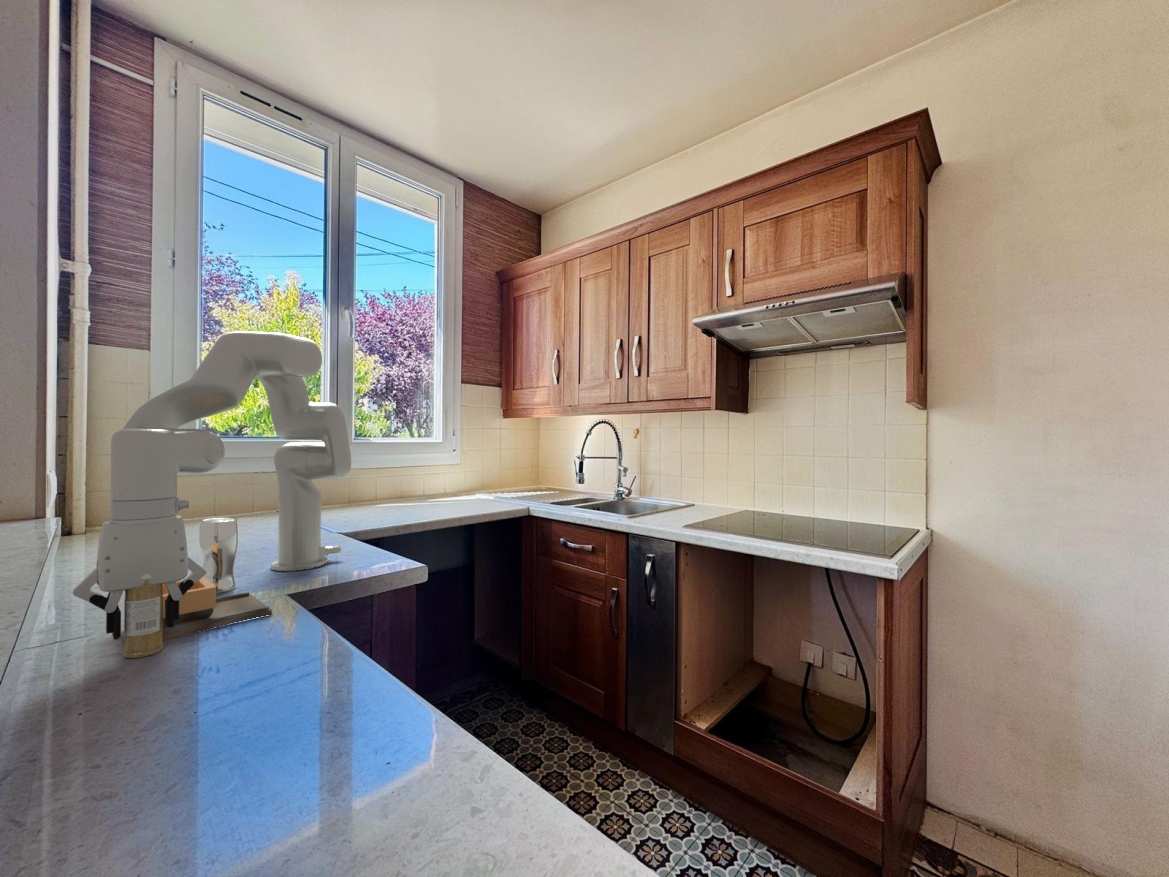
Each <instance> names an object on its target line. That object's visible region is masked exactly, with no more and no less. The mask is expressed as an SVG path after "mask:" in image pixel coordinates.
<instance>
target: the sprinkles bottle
mask: <svg viewBox="0 0 1169 877" xmlns="http://www.w3.org/2000/svg"><path fill="white" fill-rule="evenodd" d="M148 578H152V577H151V576H150V575H149V574H145V575H143V576H142V578H141V579H148ZM149 581H151V580H146V581H144V582H145V583H144V584H143V585H141V586H140V587H136V588H134V589H130V590H124V603H123V604H124V612H123V613H124V618H123V620H124V621H123V622H124V623H123V624H124V628H123V629H124V630H123V631H124V632H123V633H124V634H123V635H124V652H123V657H125V658H127V659H135V658H137V659H138V658H144V657H147V656H151V655H154V654H157V653H158V652H161V651H162V650H163V649H164V644H163V640H162V639H163V637H162V635H163V634H162V633H163V631H162V628H163V594H162V593H163V589H162V584H161V585H155V584H151V583H147V582H149Z"/></svg>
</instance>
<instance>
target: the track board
mask: <svg viewBox="0 0 1169 877" xmlns="http://www.w3.org/2000/svg"><path fill="white" fill-rule="evenodd" d="M266 615H272V616H273V610H272V609H271V608H270V607H269V606H268V605H266V604H265V603H263V602H262V601H261V600H260V599H258V598H257V597H255V596H254V595H253V594H252V593H250V592H249V591H245V592H244V591H243V592H239V593H234V594H233V593H232V594H228V595H224V596H216V607H215V608H213V613H212V615H211V616H210V617H209V618H207V619H199V618H197V616H196V615H195V612H190V613H185V614H180V615H179V619H176V620H174V627H171V628H169V627H167V625H166V624H165V618H163V628H162V631H163V633H162V634H163V635H162V637H163V639H162V641H166V640H169V639H174V638H179V637H182V636H183V637H184V636H187V635H191V634H197V633H200V632H199V631H201V632H204V631H203V630H206V631H208V630H207V629H210V630H212V629H211V628H214V627H219V626H223V625H227V624H230V623H234V622H239V621H243V620H247V619H252V618H256V617H261V616H266ZM223 627H224V626H223ZM219 628H220V627H219ZM214 629H215V628H214ZM196 632H197V633H196Z"/></svg>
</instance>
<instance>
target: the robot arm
mask: <svg viewBox="0 0 1169 877" xmlns="http://www.w3.org/2000/svg"><path fill="white" fill-rule="evenodd" d="M322 364H323V355H322V352H321V349H320V347H319V345H317V343H316V342H315V341H313V340H312V339H310V338H306V337H300V336H298V335H297V336H296V335H293V334H288V333H282V332H269V331H268V332H267V331H242V330H241V331H230V332H227V333H224V334H222V335H221V336H220V337H219V338H218V339H217V340H216V341H215V343H214V344H213V346H212V347H211V348H210V350H209V351H208V353H207V354H206V356H205V357H204V359H203V360H202V362H201V364H200V365H199V367H198V368H197V369H196V371H195V372H194V374H193V375H192V377H191V378H190V379H188V380H186V381H184V382H182V383H180V384H178V385H175V386H173V387H171V388H170V389H168V390H165V391H164V392H162V393H160V394H159V395H157V396H155V397H152V398H151V399H149V400H148V401H146V402H145V403H144V404H142V405H141V406H140V407H138V409H137V410H135V412H134V413H133V414H132V415H131V417H130V418H129V419H128V421H127V422H126V423H125V425H124V426H123V427H122V429H119V430H116V431H114V432H113V434H112V436H111V440H110V503H109V504H110V509H109V512H110V513H109V514H110V515H109V520H108V521H104V522H102V524H101V525H102V526H101V529H100V533H99V538H98V545H97V555H96V567H95V568H94V569H93V570H92V572H90V573H89V574H88V575H87V576H86V577H84V579H83V580H82V581H80V583H79V584H77V586H75V587H74V589H73V590H72V595H73V596H75V597H77V598H79V599H81V600H83V601H85V602H88V603H90V604H91V605H94V607H97V608H99V609H101V610H103V611H104V612H105V622H106V623H105V630H106V631H105V633H106V634H112V638H113V641H115V640H119V639H120V638H121V637H122V629H121V628H122V611H121V609H120V607H119V603H120V600H121V598H122V595H123V594H124V592H125V590H130V589H134V588H136V587H140V586H141V585H143V584H144V583H145V582H144V581H146V580H151V581H149V582H147V583H151V584H155V585H161V584H165V586H166V588H167V590H168V592H169V594H168V595H167V599H165V624H166V625H167V627H169V628H171V627H174V620H176V619H179V600H180V599H181V598H182V596H183V595H184V594H185V593H186V592H187V591H188V590H189V589H190V588H191V587H192V586H193V585H194V584H195V583H196V582H197V581H199V580H200V579H201V578H202V577H203V576H205V575H206V571H205V570H204V569H203V568H202V566H200V565H199V563H197V562H196V561H195V560H193V559H192V558H191V557H189V555H188V542H187V541H188V540H187V534H186V533H187V532H186V529H185V528H186V527H185V522H184V519H183V516H182V515H178V514H179V512H180V511H181V510H183V509H189V507H190V501H189V499H185V500H183V499H180V498H179V497H178V475H191V474H192V475H196V474H197V475H198V474H199V475H200V474H203V473H208V472H211V471H212V470H215V469H216V468H217V467H218V466H220V464H221V463H222V461H223V459H224V457H225V453H226V452H225V451H226V448H225V444H224V442H223V440H222V439H221V437H219V435H217V434H216V433H214V432H212V431H210V430H206V429H200V428H199V429H198V428H180V427H182V426H185V425H186V424H189V423H191V422H194V421H198V420H200V419H205V418H209V417H212V416H215V415H218V414H221V413H224V412H227V411H230V410H233V409H235V408H238V406H239V405H240V404H242V402H243V400H244V398H245V396H246V394H247V392H248V390H249V388H250V387H251V385H252V384H253V382H254V380H255V378H256V379H257V380H258V381H259V382H260V383H261V385H262V386H263V389H264V390H265V393H266V398H267V401H268V406H269V411H270V415H271V420H272V424H273V428H274V432H275V434H276V435H277V436H278V437H279V438H280V439H283V440H285V441H287V440H288V441H293V442H287V443H284V444H282V445H280V446H279V447H278V448H277V449H276V450H275V453H274V458H273V462H274V468H275V469H274V470H275V473H276V479H277V486H278V487H277V488H278V489H277V490H278V515H277V516H278V518H277V519H278V520H277V521H278V522H277V523H278V525H277V526H278V531H277V532H278V534H277V536H278V537H277V539H278V540H277V547H278V548H277V550H278V551H277V560H274V561H272V562H271V564H270V569H271V570H273V571H278V572H294V571H295V572H296V570H298V571H304V569H306V570H311V569H315V568H314V567H316V568H319V567H322V566H324V564H325V565H326V564H327V563H328V559H329V558H328V556H329V555H335V554H340V553H341V552H342V549H341V548H342V547H341V545H334V546H332V545H328V546H325V545H323V544H322V494H321V492H320V490H319V488H318V487H317V485H316V484H315V483H314V482H313V480H336V479H337V480H339V479H342V478H343V479H344V478H345V477H347V476H348V475H349V473H350V471H351V468H352V454H351V447H350V441H349V434H348V427H347V423H346V422H347V421H346V418H345V414H344V410H342V408H341V407H340V406H339V405H337V404H336V403H332V402H319V401H318V402H315V401H312V400H310V398H309V395H308V394H309V393H308V389H307V388H308V387H307V383H306V382H305V380H304V377H305V378H309V377H313V376H315V375H316V374H317V373H319V371H320V369H321V367H322ZM295 441H296V442H295ZM320 441H321V442H320ZM321 565H322V566H321ZM318 566H319V567H318ZM310 568H311V569H310ZM189 571H191V574H190V575H188V574H189V573H188V572H189ZM145 574H149V575H150V576H151V577H152V578H148V579H141V578H142V576H143V575H145ZM187 576H188V577H187ZM186 577H187V578H186ZM180 580H183V581H182V582H181V583H180V584H179V585H178V584H177V581H180ZM95 584H97V586H98V588H99V590H100V591H102V592H106V593H107V595H106V596H104V595H102V594H100V593H99V592H98V593H97V592H95V591H94V590H91V589H92V587H94V585H95Z"/></svg>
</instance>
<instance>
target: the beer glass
mask: <svg viewBox="0 0 1169 877" xmlns="http://www.w3.org/2000/svg"><path fill="white" fill-rule="evenodd" d="M238 520H239V519H238V518H236V517H216V518H207V519H202V520H200V521H199V526H198V537H197V538H198V539H197V541H198V542H197V543H198V544H197V545H198V546H197V548H198V554H199V559H200V564H201V567H202V568H203V569H204V570H205V571H206V575H205V576H204V577H205V578H206V579H207V580H208V581H209V582H211V583H212V584H213V585H214V586H215V587H216V593H217V594H221V593H220V592H223V593H226V592H225V591H227V592H230V591H229V590H231V591H233V590H235V589H236V588H235V587H237V584H236V580H235V574H234V573H235V572H234V569H235V564H236V560H237V553H238V548H239V542H240V541H239V539H240V538H239V536H240V534H239V524H238ZM234 588H235V589H234ZM232 589H233V590H232Z"/></svg>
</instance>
